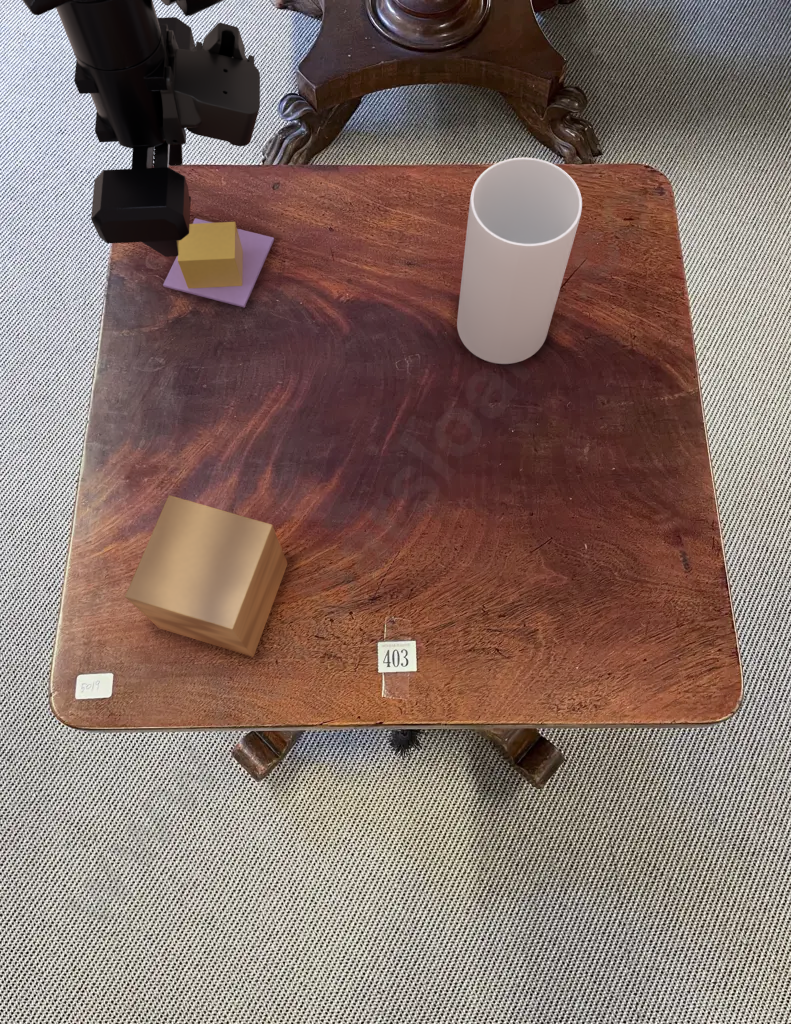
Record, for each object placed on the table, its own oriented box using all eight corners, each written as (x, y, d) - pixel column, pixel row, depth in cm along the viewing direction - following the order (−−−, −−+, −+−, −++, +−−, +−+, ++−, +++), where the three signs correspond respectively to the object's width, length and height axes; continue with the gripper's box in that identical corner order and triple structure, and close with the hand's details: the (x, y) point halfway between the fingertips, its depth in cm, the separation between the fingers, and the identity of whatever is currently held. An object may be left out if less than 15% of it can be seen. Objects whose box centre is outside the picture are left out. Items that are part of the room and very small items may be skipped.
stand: (158, 628, 68) (124, 596, 59) (196, 536, 70) (168, 494, 62) (253, 657, 67) (232, 629, 58) (288, 563, 69) (272, 524, 61)
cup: (551, 292, 79) (586, 163, 64) (543, 369, 76) (578, 252, 61) (462, 281, 79) (477, 151, 64) (451, 357, 76) (463, 239, 62)
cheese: (188, 288, 79) (177, 261, 75) (189, 253, 80) (179, 224, 77) (242, 286, 79) (234, 258, 75) (242, 250, 80) (235, 221, 77)
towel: (163, 286, 79) (162, 284, 79) (195, 220, 82) (195, 217, 82) (244, 307, 78) (244, 306, 78) (274, 239, 81) (274, 237, 81)
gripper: (241, 145, 52) (274, 300, 66) (243, -66, 59) (273, 117, 73) (55, 153, 51) (129, 307, 66) (79, -60, 58) (141, 122, 73)
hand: (174, 208), depth 69 cm, fingers open, 9 cm apart
